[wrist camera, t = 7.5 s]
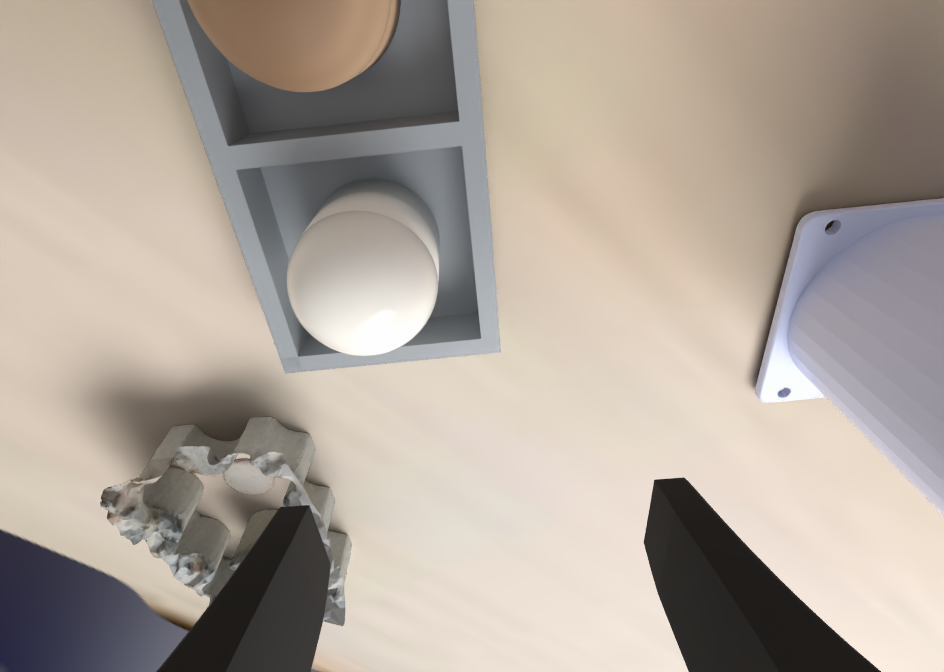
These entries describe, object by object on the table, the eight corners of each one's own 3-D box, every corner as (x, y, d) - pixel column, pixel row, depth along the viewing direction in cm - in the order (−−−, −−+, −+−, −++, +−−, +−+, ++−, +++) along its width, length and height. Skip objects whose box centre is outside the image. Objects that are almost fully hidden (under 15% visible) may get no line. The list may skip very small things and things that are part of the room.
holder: (453, -209, 12) (454, -261, 9) (495, 315, 19) (500, 352, 17) (143, -172, 12) (74, -215, 10) (303, 334, 19) (285, 373, 17)
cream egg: (431, 172, 15) (423, 230, 11) (447, 290, 17) (445, 378, 13) (299, 185, 15) (242, 249, 11) (331, 302, 17) (293, 392, 13)
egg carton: (142, 415, 21) (81, 492, 18) (321, 405, 21) (294, 479, 18) (221, 570, 27) (186, 652, 23) (363, 562, 27) (349, 643, 23)
